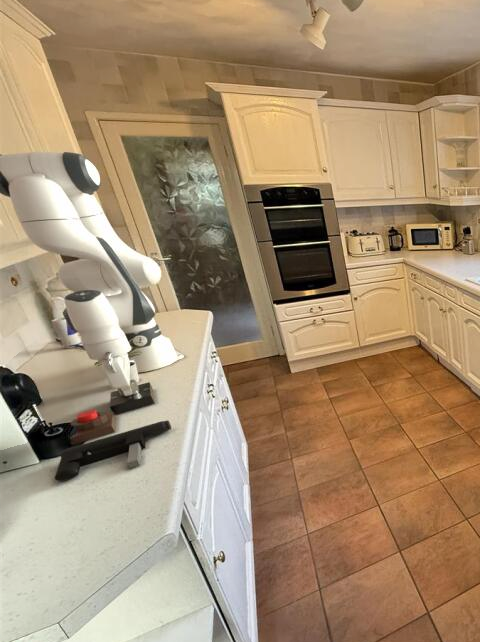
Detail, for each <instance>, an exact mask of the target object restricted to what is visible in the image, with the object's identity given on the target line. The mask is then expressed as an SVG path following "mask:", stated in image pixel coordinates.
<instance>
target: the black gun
mask: <svg viewBox="0 0 480 642" xmlns="http://www.w3.org/2000/svg"><path fill="white" fill-rule="evenodd" d="M171 430H172V424H171V422H170V421H169V420H168V419H167V420H160V421H158V422H154V423H151V424H147V425H143V426H140V427H137V428H134V429H130V430H127V431H124V432H119V433H116V434H113V435H110V436H105V437H102V438H99V439H95V440H93V441H92V440H91V441H89V442H86V443H85V442H84V443H83V444H79V445H74V446H71V447H69V448H65V449H64V450H62V452H61V453H60V461H59V463H58V467H57V469H56V472H55V475H54V480H56V481H59V482H65V481H69V480H72V479H74V478H76V477H77V476H78V475H79V474H80V471H81V468H83V467H87V466H89V465H93V464H95V463H99V462H101V461H105V460H109V459H112V458H115V457H118V456H121V455H124V454H128V456H127V465H128V467H129V468H130V469H134V468H137V467H139V466H141V459H142V450H145V449H146V446H147V444H146V443H147V438H150V437H153V436H157V435H161V434H164V433H167V432H168V431H171Z"/></svg>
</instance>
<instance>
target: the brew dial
mask: <svg viewBox="0 0 480 642" xmlns="http://www.w3.org/2000/svg"><path fill="white" fill-rule="evenodd" d="M138 385H139V384H138V382H137V383H136V381H135V380H130V387H131V389H132V391H133V394H131V395H128V396H132V395H135V394H137V393H139V392H140V389H139V387H138ZM117 390H118V392H119V394H120V396H121V397H128V396H125V395H124V393H123V391H122V390H121V389H120V388H118V389H116V391H117Z"/></svg>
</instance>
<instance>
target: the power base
mask: <svg viewBox="0 0 480 642" xmlns="http://www.w3.org/2000/svg"><path fill="white" fill-rule="evenodd" d="M96 412H97V414H98V416H99V417H97V418H96V419H93V420H91V421H87V422H83V423H80V422H79V421H78V419H77V417H76V418H75V419H73V420H72V421H71V422H70V427H71V426H73V427H75V428H76V429H77V430H78V432H77V434H75V435H73V436H72V437H70V439H72V440H73V442H70V444H71V446H76V445H78V444H81V443H85V442H88V441H92V440H96V439H98V438H102V437H106V436H108V435H111V434H114V433H116V428H117V427H116V426H117V417H116V416H117V415H115V414H114V413H113V411H108V412H106V411H101V410H100V411H96Z"/></svg>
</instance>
